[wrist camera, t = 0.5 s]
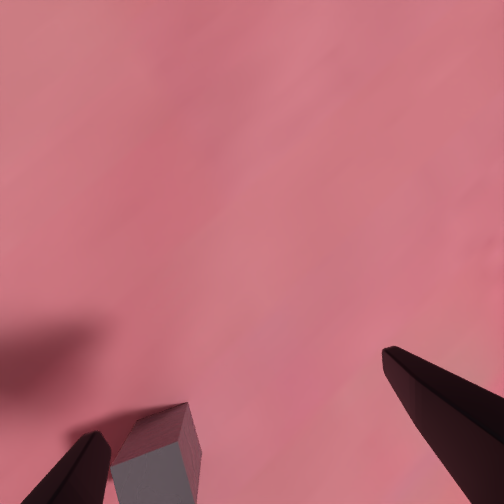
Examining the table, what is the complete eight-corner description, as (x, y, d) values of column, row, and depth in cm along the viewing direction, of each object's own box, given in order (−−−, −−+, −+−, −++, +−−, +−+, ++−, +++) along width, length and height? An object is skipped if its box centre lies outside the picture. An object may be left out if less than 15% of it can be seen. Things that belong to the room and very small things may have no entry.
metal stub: (202, 452, 21) (196, 508, 16) (150, 472, 20) (127, 536, 15) (187, 402, 21) (177, 441, 16) (136, 420, 20) (109, 467, 15)
